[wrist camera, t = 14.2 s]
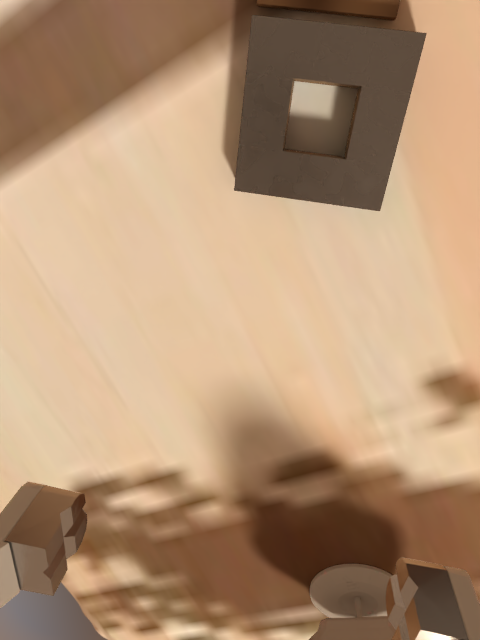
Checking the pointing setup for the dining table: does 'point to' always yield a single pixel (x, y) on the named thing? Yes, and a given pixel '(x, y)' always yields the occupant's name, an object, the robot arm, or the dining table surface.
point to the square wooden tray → (340, 7)
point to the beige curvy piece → (352, 603)
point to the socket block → (330, 69)
